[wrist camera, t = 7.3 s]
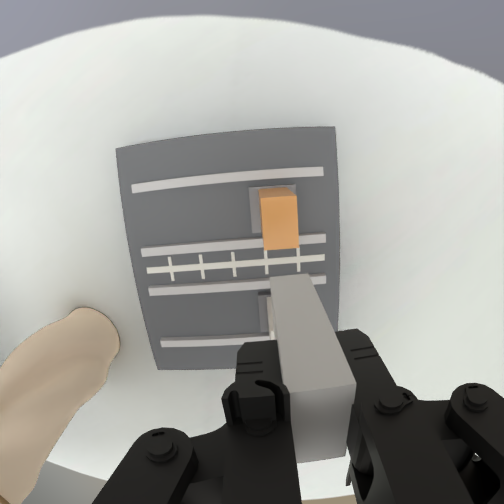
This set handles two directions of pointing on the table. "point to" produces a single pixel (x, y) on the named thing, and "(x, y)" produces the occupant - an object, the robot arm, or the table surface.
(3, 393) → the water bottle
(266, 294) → the fader
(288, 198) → the fader
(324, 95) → the table surface
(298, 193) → the console
